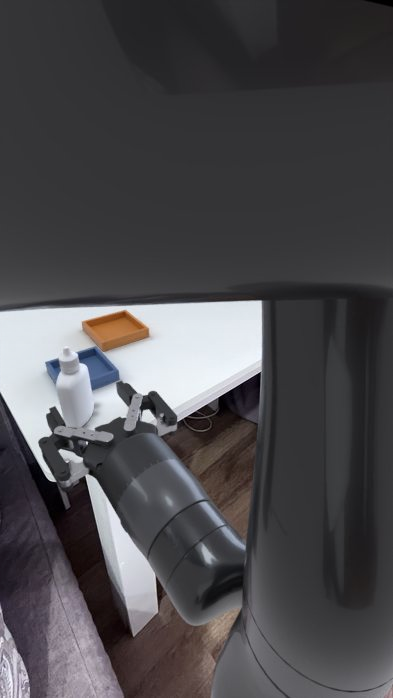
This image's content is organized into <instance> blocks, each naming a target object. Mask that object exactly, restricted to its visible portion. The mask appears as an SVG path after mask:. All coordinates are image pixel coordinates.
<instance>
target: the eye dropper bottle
mask: <svg viewBox="0 0 393 698" xmlns="http://www.w3.org/2000/svg"><path fill="white" fill-rule="evenodd" d="M62 348H63V349H62V350H63V351H62V352H61V354H59V356H58V357H57V358H58V359H59V363H60V368H61V372H60V373H59V375H58V378H57V382H56V384H55V388H56V394H57V399H58V403H59V406H60V410H61V416H62V418H63V420H64V422H65V424H66V427H69V428H73V429H77V428H78V427H82V428H83V426H84V425H86V423H87V422H89V420H90V419H91V418H92V416H93V414H94V409H95V401H94V395H93V390H92V389H91V383H90V378H89V372H88V368H87V366H86V365H85V364H82V363H79V358H78V354H77V353H76V352H77V351H73V350H71V347H70V346H69V345H65V346H63V347H62Z"/></svg>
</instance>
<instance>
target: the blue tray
mask: <svg viewBox="0 0 393 698" xmlns="http://www.w3.org/2000/svg"><path fill="white" fill-rule="evenodd" d="M75 352H76V353H77V354H78V358H79V363H82V364H85V365H86V366H87V368H88V372H89V378H90V383H91V389H92V391H94V390H98V389H99V388H102V387H105V386H107V385H111V384H112V383H116V382H118V381H121V378H120V372H119V368H118V367H116V365H115V364H114V363H113V362H112V361H111V360H110V359H109V358H108V357H107V356H106V354H104V353H103V351H102V350H101V349H100V348H99V347H98V346H97V345H95V346H92V347H88V348H85V349H82V350H79V351H75ZM44 365H45V368H46V372H47V373H48V376H49V377H50V378H51V380H52V381H53V383H54V384H55V385H56V382H57V378H58V375H59V373H60V372H61V368H60V363H59V359H58V357H56V358H53V359H51V360H47V361H45V362H44Z"/></svg>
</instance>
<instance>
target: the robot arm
mask: <svg viewBox="0 0 393 698" xmlns="http://www.w3.org/2000/svg"><path fill="white" fill-rule="evenodd" d="M242 302H243V303H246V302H247V303H248V302H261V358H260V359H261V360H260V361H261V363H260V364H261V367H260V390H259V391H260V392H259V407H258V420H257V431H256V440H255V441H256V443H255V451H254V462H253V472H252V481H251V492H250V498H249V499H250V500H249V506H248V507H249V510H248V519H247V529H246V539H245V538H244V537H243V535H241V534H240V532H239V531H238V530H237V529H236V528H235V526H234V525H233V524H232V523H231V522H230V520H229V519H228V518H227V517H226V516H225V515H224V514H223V512H222V511H221V510H220V509H219V508H218V506H217V505H216V504H215V503H214V502H213V500H212V499H211V498H210V496H209V494H208V493H207V491H206V490H205V489H204V487H203V485H202V484H201V482H200V481H199V480H198V478H197V477H196V476H195V475H194V474H193V473H192V472H191V471H190V469H189V468H188V467H187V466H186V464H185V463H184V462H183V461H182V460H181V458H179V456H178V455H177V454H176V453H175V452H174V451H173V449H171V447H170V446H169V445H168V444H167V442H166V441H165V440H164V439H163V438H162V436H165V435H166V434H167V435H168V436H171V437H173V436H176V435H177V434H178V415H177V414H176V413H175V411H174V410H173V409H172V408H171V407H170V405H168V403H167V402H166V400H164V399H163V397H162V396H161V395H160V394H159V392H158V391H156V390H150V391H149V392H148V393H147V394H141V393H138V392H137V390H136V389H135V388H134V387H133V386H132V385H131V384H130V383H128V382H123V380H118V381H115V386H116V387H115V388H116V394H117V395H118V397H119V398H120V399H121V400H122V402H123V403H124V404H125V405H126V406H127V409H128V410H127V413H126V417H121V416H118V417H115V418H114V419H112V420H111V421H109V422H108V423H103V424H100V425H98V426H96V427H94V429H89V428H85V427H83V426H82V427H78V428H71V427H67V426H66V424H65V422H64V419H63V416H62V414H61V413H60V411H59V410H58V408H57V407H56V405H54V406H52V407H49V408H48V410H49V412H48V413H46V415H45V419H46V422H47V426H48V428H49V430H50V432H51V434H50V435H49V436H42V437H40V439H38V441H37V444H38V447H39V448H40V451H41V456H42V459H43V461H44V463H45V464H46V466H47V468H48V469H49V472H50V473H51V475H52V477H53V478H54V481H55V482H56V484H57V485H58V487H59V488H60V491H61V492H63V493H69V492H70V491H72V490H73V489H74V485H75V484H74V483H75V482H76V481H78V480H80V479H82V478H83V477H85V476H87V475H89V476H91V477H92V478H94V479H95V480H96V481H97V483H98V485H99V486H100V489H101V490H102V492H103V493H104V495H105V497H106V498H107V500H108V502H109V503H110V505H111V507H112V508H113V511H114V512H115V514H116V516H117V518H118V519H119V523H120V526H121V527H122V529H123V531H124V532H125V533H127V535H128V537H129V538H130V540H131V541H132V543H133V544H134V545H135V547H136V549H137V550H138V551H139V552H140V553H141V554H142V555H143V557H144V558H145V560H146V561H147V563H148V564H149V566H150V568H151V569H152V571H153V573H154V575H155V576H156V578H157V580H158V581H159V583H160V585H161V586H162V588H163V590H164V592H165V594H166V595H167V597H168V599H169V600H170V602H171V603H172V605H173V607H174V608H175V610H176V612H177V613H178V615H179V616H180V617H181V619H182V620H183V621H184V622H186V623H187V624H188V625H190V626H192V627H193V626H194V627H200V626H203V625H205V624H208V623H210V622H212V621H214V620H215V619H217V618H219V617H221V616H222V615H225V614H227V613H228V612H231V611H233V610H237V609H240V610H239V612H238V614H237V616H236V617H235V619H234V621H233V623H232V624H231V627H230V629H229V631H228V633H227V635H226V638H225V640H224V643H223V645H222V647H221V649H220V652H219V654H218V657H217V659H216V662H215V665H214V669H213V673H212V677H211V678H212V679H211V682H210V683H211V684H210V698H385V697H386V696H387V694H388V693H389V691H390V689H391V688H392V686H393V0H0V313H9V312H21V311H23V312H24V311H36V310H49V309H51V310H53V309H78V308H79V309H80V308H81V309H82V308H105V307H110V308H111V307H128V306H129V307H133V306H134V307H135V306H137V307H138V306H159V305H160V306H161V305H164V306H165V305H188V304H190V305H191V304H215V303H216V304H217V303H242ZM148 410H149V412H150V413H151V415H153V417H154V418H155V420H156V425H155V424H153V423H151V422H147V421H143V420H142V419H143V415H144V411H148ZM60 450H63V451H66V452H70V453H73V454H74V455H75V456H76V457H79V458H82V462H80V463H77V462H75V461H74V460H71V459H70V458H66V459H64V458H63V456H62V453H61V452H60Z"/></svg>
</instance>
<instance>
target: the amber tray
mask: <svg viewBox="0 0 393 698" xmlns="http://www.w3.org/2000/svg"><path fill="white" fill-rule="evenodd" d="M81 328H82V331H83V332H84V333H85V334H86V335H87V336H88V337H89V338H90V340H92V342H94V344H95V345H96V346H97V347H98V349H99V350H100V351H101V352H102V353H103V352H107V351H109V350H113V349H116V348H119V347H122V346H125V345H129V344H131V343H134V342H137V341H140V340H144V339H147V338H149V337H150V328H149V327H148V326H147V325H145V324H144V323H143V322H142V321H141V320H139V319H138V318H137V317H136V316H134V315H133V314H132V313H130V312H129V311H128V310H127V309H123V310H119V311H116V312H111V313H108V314H105V315H101V316H97V317H93V318H90V319H86V320H82V321H81Z"/></svg>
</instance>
